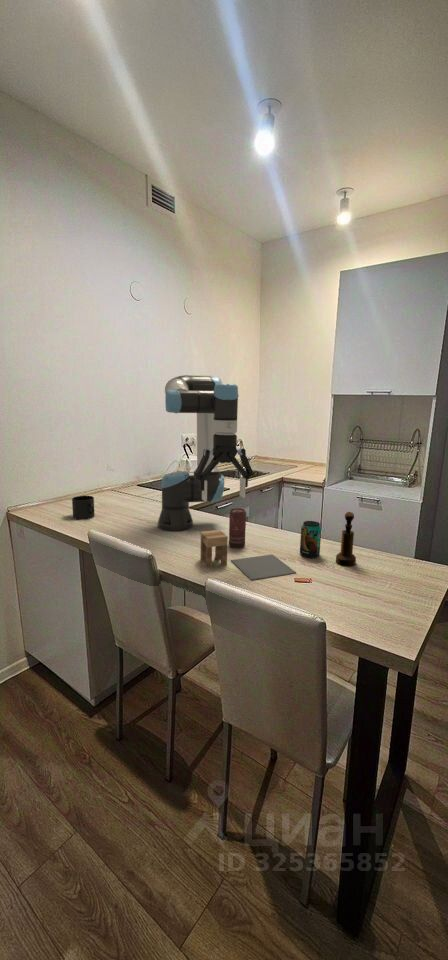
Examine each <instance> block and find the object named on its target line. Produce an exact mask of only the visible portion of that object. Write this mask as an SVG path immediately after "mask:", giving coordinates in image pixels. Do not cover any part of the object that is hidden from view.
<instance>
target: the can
mask: <svg viewBox="0 0 448 960" xmlns="http://www.w3.org/2000/svg"><path fill="white" fill-rule="evenodd" d="M228 521H229V524H228V525H229V526H228V528H229V531H228V545H229V547H230V548H233V549H241V548H244V547H245V545H246V528H247V527H246V526H247V511H246V510H245V509H244V508H243V509H242V508H231V509H230V511H229V520H228Z"/></svg>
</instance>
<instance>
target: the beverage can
mask: <svg viewBox="0 0 448 960" xmlns="http://www.w3.org/2000/svg"><path fill="white" fill-rule="evenodd" d="M321 539H322V527H321V523H320V522H318V521H315V520H305V521H303V524H302V525H301V527H300V542H299V543H300V544H299V554H300V555H301V556H302V557H303V558H307V559H315V558H318V557H319V556H320V553H321Z"/></svg>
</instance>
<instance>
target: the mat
mask: <svg viewBox="0 0 448 960" xmlns="http://www.w3.org/2000/svg"><path fill="white" fill-rule="evenodd" d="M230 562H231V563H232V564H233V565H234V566H235V567H236V568H237V569H238V570H239V571H241V573H242V574H243V575H244V576H246V577H247V578H248V579H249V580H250V581H257V580H264V579H268V578H276V577H282V576H289V575H295V574H297V572H296V571H295V570H294V569H292V568H291V567H290V566H289V565H287V564H286V563H284V562H283V561H282V560H281V559H279V558H278V557H277V556H275V555H274V554H272V553H271V554H265V555H259V556H257V555H256V556H250V557H243V558H237V559H230Z"/></svg>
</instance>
